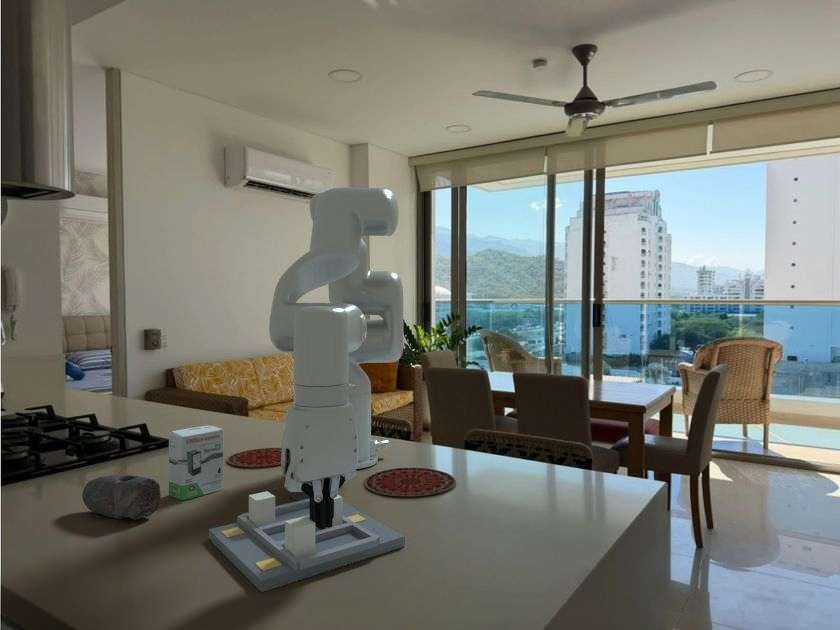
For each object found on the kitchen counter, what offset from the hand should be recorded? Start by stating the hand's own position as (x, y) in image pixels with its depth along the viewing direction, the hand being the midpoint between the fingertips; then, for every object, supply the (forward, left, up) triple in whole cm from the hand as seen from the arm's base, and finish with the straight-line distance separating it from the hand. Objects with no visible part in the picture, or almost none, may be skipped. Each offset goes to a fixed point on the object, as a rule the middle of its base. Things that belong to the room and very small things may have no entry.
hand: (321, 525), depth 81 cm
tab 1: (+4, -13, -3) cm, 13 cm away
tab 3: (-5, -6, -3) cm, 8 cm away
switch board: (-1, -6, -5) cm, 8 cm away
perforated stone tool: (+19, -35, -5) cm, 40 cm away
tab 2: (+4, 0, -3) cm, 5 cm away
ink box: (+5, -39, -5) cm, 39 cm away
